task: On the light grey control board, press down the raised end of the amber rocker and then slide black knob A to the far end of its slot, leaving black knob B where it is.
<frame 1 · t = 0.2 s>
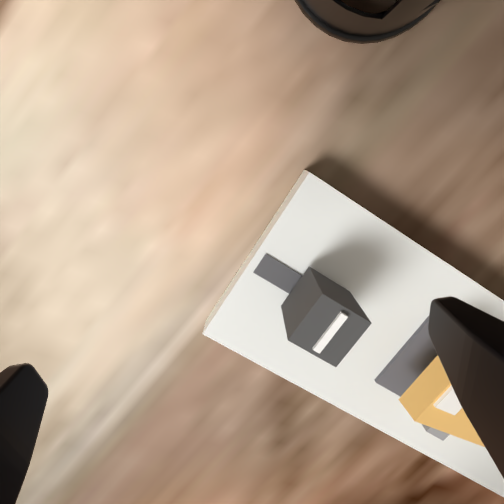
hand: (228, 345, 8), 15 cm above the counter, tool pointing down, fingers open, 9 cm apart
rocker: (468, 399, 21), point 4 cm above the counter, hinge at 14.0°
slider b: (321, 314, 19), point 5 cm above the counter, slide at 0.0 cm
panel: (454, 370, 26), on the counter
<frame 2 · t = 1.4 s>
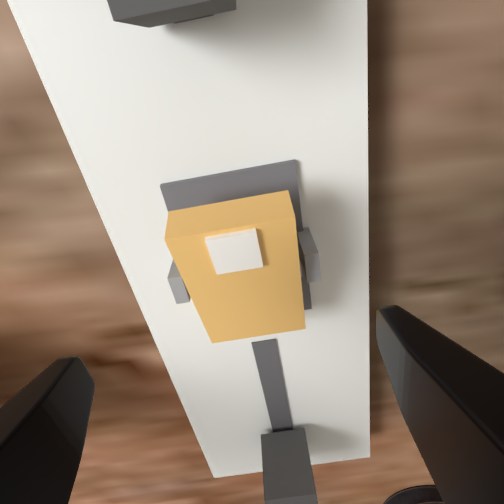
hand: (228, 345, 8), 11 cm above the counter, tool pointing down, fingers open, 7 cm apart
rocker: (245, 278, 15), point 4 cm above the counter, hinge at 14.0°
camera lens: (414, 500, 35), on the counter
slider a: (289, 476, 23), point 5 cm above the counter, slide at 0.0 cm
panel: (250, 263, 20), on the counter
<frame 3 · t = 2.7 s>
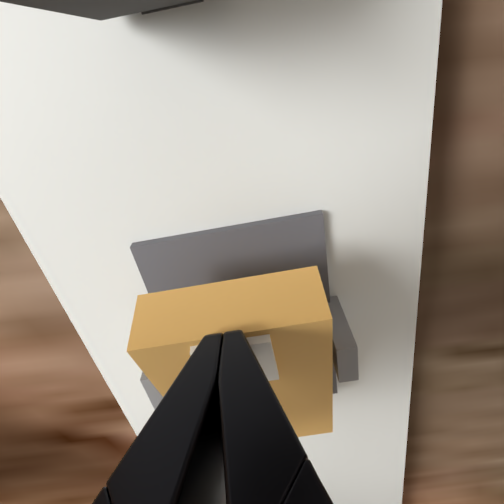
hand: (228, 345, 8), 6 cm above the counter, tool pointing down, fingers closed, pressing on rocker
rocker: (251, 377, 11), point 4 cm above the counter, hinge at 13.9°, touching gripper
panel: (255, 328, 15), on the counter
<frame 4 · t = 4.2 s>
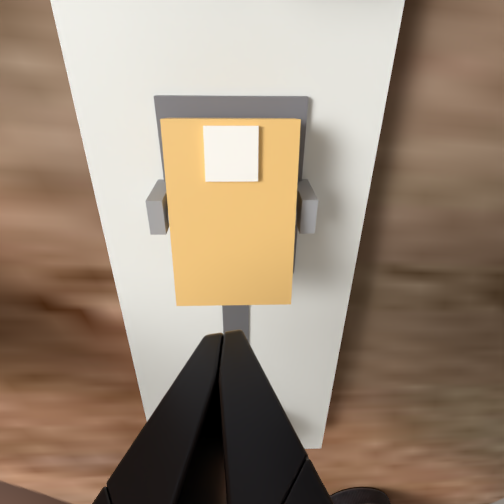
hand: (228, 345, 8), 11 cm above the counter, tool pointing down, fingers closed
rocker: (232, 216, 14), point 4 cm above the counter, hinge at -8.4°
camera lens: (353, 501, 34), on the counter
panel: (234, 216, 18), on the counter
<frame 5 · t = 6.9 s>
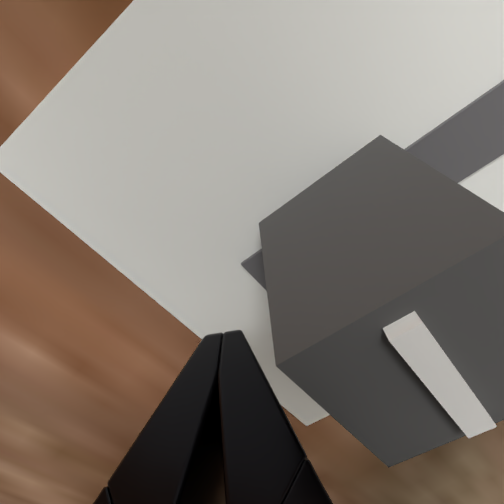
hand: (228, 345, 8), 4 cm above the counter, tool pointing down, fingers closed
slider a: (386, 286, 6), point 5 cm above the counter, slide at 1.2 cm, touching gripper
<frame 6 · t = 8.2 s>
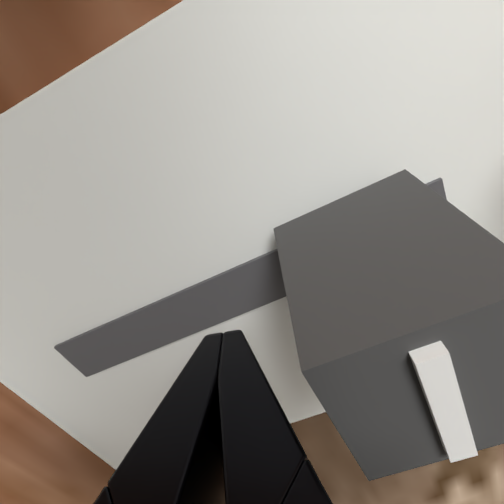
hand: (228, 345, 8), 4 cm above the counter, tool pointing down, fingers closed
slider a: (391, 311, 6), point 5 cm above the counter, slide at 7.2 cm, touching gripper
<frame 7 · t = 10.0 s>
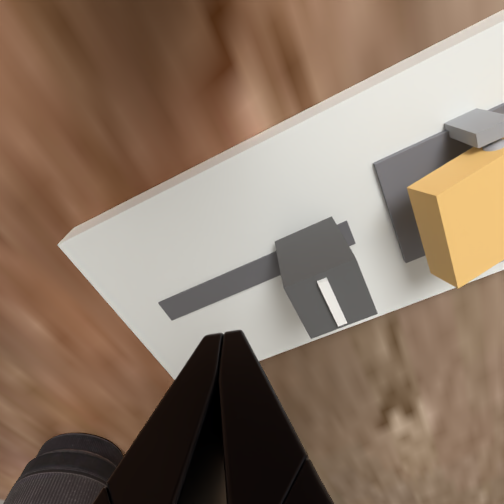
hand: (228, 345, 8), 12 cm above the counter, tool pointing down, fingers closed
camera lens: (84, 453, 30), on the counter
slider a: (322, 275, 16), point 5 cm above the counter, slide at 7.4 cm
panel: (411, 184, 19), on the counter
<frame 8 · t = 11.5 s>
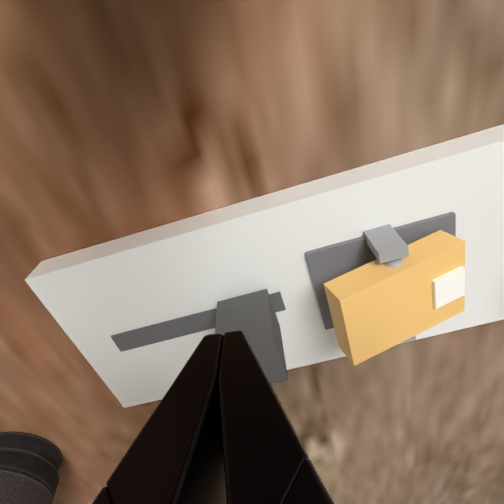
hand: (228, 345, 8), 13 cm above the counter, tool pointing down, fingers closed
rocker: (398, 298, 19), point 4 cm above the counter, hinge at -16.1°
camera lens: (24, 450, 32), on the counter
slider a: (250, 339, 19), point 5 cm above the counter, slide at 7.4 cm
panel: (340, 264, 22), on the counter
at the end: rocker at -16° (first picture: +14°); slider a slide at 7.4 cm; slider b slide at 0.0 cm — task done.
